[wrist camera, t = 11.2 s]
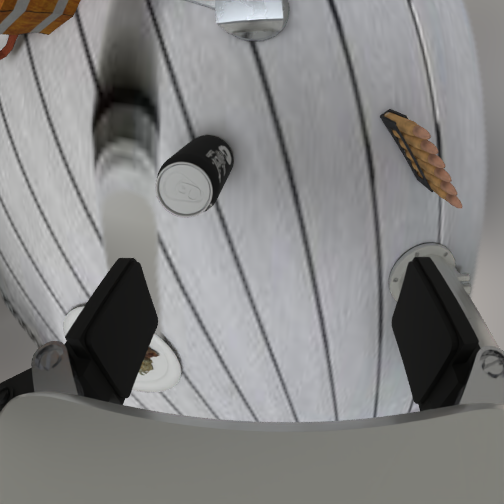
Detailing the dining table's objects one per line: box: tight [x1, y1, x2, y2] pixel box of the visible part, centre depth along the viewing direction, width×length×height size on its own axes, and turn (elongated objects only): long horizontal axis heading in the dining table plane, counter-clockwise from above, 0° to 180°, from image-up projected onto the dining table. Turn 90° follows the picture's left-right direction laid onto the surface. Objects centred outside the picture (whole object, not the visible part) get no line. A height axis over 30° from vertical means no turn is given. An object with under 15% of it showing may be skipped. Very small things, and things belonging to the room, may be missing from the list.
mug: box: [0, 0, 80, 60], centre depth 19 cm, size 20×14×15 cm
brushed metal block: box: [215, 0, 283, 34], centre depth 22 cm, size 6×6×7 cm
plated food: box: [63, 306, 181, 392], centre depth 61 cm, size 30×30×3 cm
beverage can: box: [156, 135, 233, 218], centre depth 33 cm, size 7×7×12 cm
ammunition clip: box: [380, 109, 462, 208], centre depth 30 cm, size 11×2×12 cm, turn 41°
